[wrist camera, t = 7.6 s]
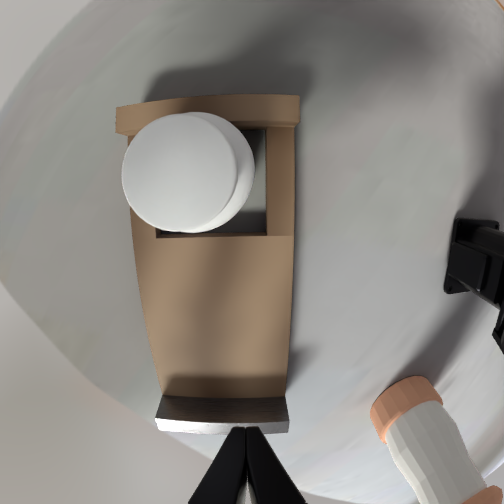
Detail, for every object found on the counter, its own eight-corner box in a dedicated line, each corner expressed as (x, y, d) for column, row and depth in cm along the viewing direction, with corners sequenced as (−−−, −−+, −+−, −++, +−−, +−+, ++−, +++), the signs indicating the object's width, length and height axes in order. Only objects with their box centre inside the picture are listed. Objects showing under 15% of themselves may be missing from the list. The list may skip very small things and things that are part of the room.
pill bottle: (183, 122, 16) (131, 81, 8) (262, 145, 17) (280, 116, 8) (160, 201, 17) (92, 226, 9) (236, 224, 18) (229, 270, 9)
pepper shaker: (439, 380, 23) (523, 500, 4) (399, 425, 25) (457, 547, 6) (401, 369, 22) (497, 525, 3) (356, 419, 24) (412, 572, 5)
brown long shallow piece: (290, 107, 16) (302, 90, 12) (282, 398, 22) (287, 432, 18) (135, 116, 16) (108, 104, 12) (168, 397, 22) (159, 429, 18)
